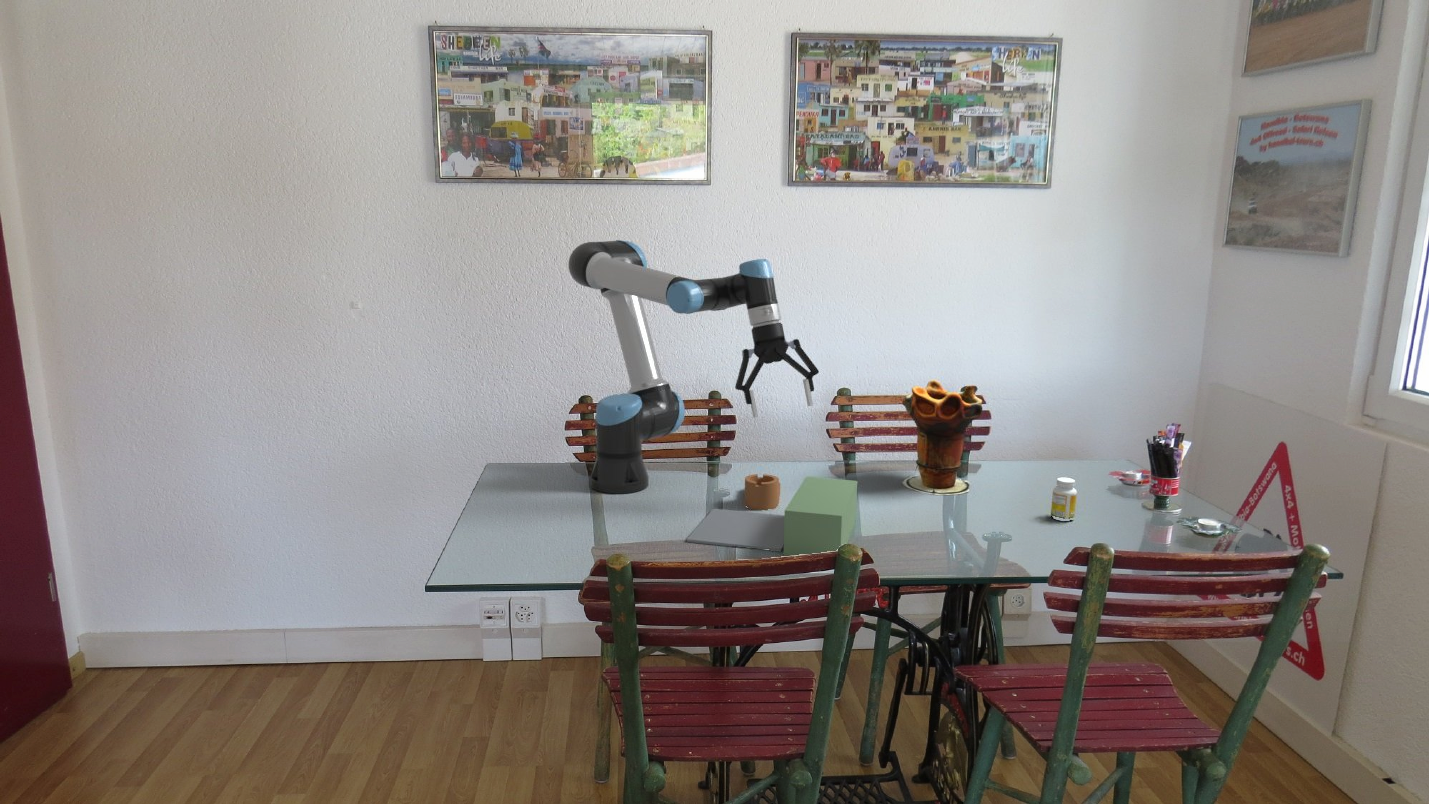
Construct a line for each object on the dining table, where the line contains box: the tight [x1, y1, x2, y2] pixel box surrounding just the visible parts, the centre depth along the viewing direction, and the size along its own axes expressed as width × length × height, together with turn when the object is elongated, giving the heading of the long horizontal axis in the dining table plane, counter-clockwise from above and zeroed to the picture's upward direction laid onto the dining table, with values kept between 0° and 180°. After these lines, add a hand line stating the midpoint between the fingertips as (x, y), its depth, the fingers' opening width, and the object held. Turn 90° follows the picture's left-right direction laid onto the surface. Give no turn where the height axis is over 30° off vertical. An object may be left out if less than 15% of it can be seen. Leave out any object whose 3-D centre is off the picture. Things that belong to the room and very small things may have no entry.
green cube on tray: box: [686, 476, 858, 557], centre depth 216 cm, size 34×26×10 cm
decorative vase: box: [901, 379, 983, 496], centre depth 252 cm, size 21×23×28 cm
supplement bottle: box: [1050, 477, 1078, 519], centre depth 228 cm, size 5×5×10 cm
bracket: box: [744, 473, 781, 511], centre depth 240 cm, size 18×8×7 cm, turn 174°
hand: (783, 411), depth 230 cm, fingers open, 13 cm apart
